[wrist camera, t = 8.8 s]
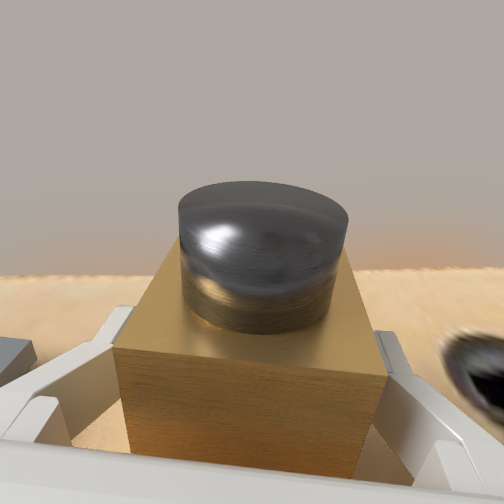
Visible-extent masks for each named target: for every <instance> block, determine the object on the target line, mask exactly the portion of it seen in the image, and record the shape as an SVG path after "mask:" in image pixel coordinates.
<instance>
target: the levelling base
mask: <svg viewBox="0 0 504 504" xmlns="http://www.w3.org/2000/svg"><path fill="white" fill-rule="evenodd" d="M36 360H37V356H36V353H35V350H34V347H33V344H32V341H31V340H25V339H16V338H7V337H0V388H1V387H3V386H4V385H6V384H8V383H10V382H12V381H14V380H16V379H17V378H19V377H21V376H23V375H25V373H26V372H27V371H28V370H29V369H30V367H31V366H32V365H33V364H34V363H35V361H36Z"/></svg>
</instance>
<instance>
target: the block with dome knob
mask: <svg viewBox="0 0 504 504" xmlns="http://www.w3.org/2000/svg"><path fill="white" fill-rule="evenodd" d="M178 215H179V237H178V238H177V240H176V242H175V243H174V245H173V247H172V248H171V250H170V252H169V253H168V255H167V256H166V258H165V260H164V261H163V263H162V265H161V266H160V268H159V270H158V271H157V273H156V275H155V276H154V278H153V280H152V281H151V283H150V285H149V286H148V288H147V290H146V291H145V293H144V294H143V296H142V298H141V299H140V301H139V303H138V304H137V306H136V308H135V309H134V311H133V313H132V314H131V316H130V318H129V319H128V321H127V323H126V324H125V326H124V327H123V329H122V331H121V332H120V334H119V336H118V337H117V339H116V341H115V342H114V344H113V346H112V351H113V357H114V362H115V368H116V374H117V379H118V385H119V390H120V396H121V401H122V407H123V412H124V418H125V423H126V429H127V434H128V440H129V445H130V451H131V454H137V455H146V456H154V457H163V458H172V459H180V460H189V461H197V462H206V463H215V464H223V465H232V466H240V467H249V468H258V469H266V470H275V471H283V472H292V473H301V474H310V475H319V476H327V477H336V478H345V479H351V476H352V473H353V471H354V468H355V465H356V463H357V460H358V457H359V454H360V452H361V449H362V446H363V444H364V441H365V438H366V436H367V433H368V430H369V427H370V425H371V422H372V419H373V417H374V414H375V411H376V408H377V406H378V403H379V400H380V398H381V395H382V392H383V389H384V387H385V384H386V381H387V379H388V373H387V370H386V367H385V364H384V362H383V359H382V356H381V353H380V350H379V347H378V344H377V341H376V339H375V336H374V333H373V330H372V327H371V324H370V321H369V318H368V316H367V313H366V310H365V307H364V304H363V301H362V298H361V295H360V292H359V290H358V287H357V284H356V281H355V278H354V275H353V272H352V269H351V267H350V264H349V261H348V258H347V255H346V252H345V249H344V247H343V244H344V239H345V234H346V230H347V225H348V215H347V213H346V211H345V210H344V209H343V208H342V207H341V206H340V205H339V204H338V203H336V202H335V201H333V200H332V199H330V198H328V197H326V196H324V195H321V194H319V193H316V192H313V191H311V190H307V189H303V188H300V187H295V186H291V185H286V184H279V183H271V182H259V181H237V182H225V183H218V184H212V185H208V186H204V187H201V188H198V189H196V190H193V191H191V192H190V193H188V194H187V195H185V196H184V197H183V198H182V199H181V201H180V202H179V206H178Z"/></svg>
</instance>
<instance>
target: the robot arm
mask: <svg viewBox="0 0 504 504" xmlns="http://www.w3.org/2000/svg"><path fill="white" fill-rule="evenodd" d="M135 308H136V307H135V306H127V305H118V306H117V307H115V309H114V310H113V312H112V313H111V315H110V316H109V317H108V319H107V320H106V322H105V323H104V325H103V326H102V327H101V329H100V330H99V332H98V333H97V335H96V336H95V338H94V339H93V340H92V342H88V341H86V342H84V343H83V344H81V345H79V346H77V347H75V348H73V349H71V350H70V351H68V352H66V353H64V354H62V355H60V356H58V357H56V358H55V359H53V360H51V361H49V362H47V363H45V364H43V365H42V366H40V367H38V368H36V369H34V370H32V371H30V372H29V373H27V374H25V375H23V376H21V377H19V378H17V379H16V380H14V381H12V382H10V383H8V384H6V385H4V386H3V387H1V388H0V504H504V446H503V445H502V444H501V443H500V442H499V441H497V440H496V439H495V438H494V437H493V436H491V435H490V434H489V433H488V432H486V431H485V430H484V429H483V428H482V427H480V426H479V425H478V424H477V423H476V422H474V421H473V420H472V419H471V418H470V417H468V416H467V415H466V414H465V413H463V412H462V411H461V410H460V409H459V408H457V407H456V406H455V405H454V404H453V403H451V402H450V401H449V400H448V399H446V398H445V397H444V396H443V395H442V394H440V393H439V392H438V391H437V390H436V389H434V388H433V387H432V386H431V385H429V384H428V383H427V382H426V381H425V380H423V379H422V378H421V377H420V376H416V375H413V373H412V370H411V368H410V366H409V363H408V361H407V359H406V357H405V354H404V352H403V350H402V348H401V345H400V343H399V341H398V338H397V336H396V334H395V333H394V332H391V331H378V330H375V331H373V333H374V336H375V339H376V341H377V344H378V347H379V350H380V353H381V356H382V359H383V362H384V364H385V367H386V370H387V373H388V379H387V381H386V384H385V387H384V389H383V392H382V395H381V398H380V400H379V403H378V406H377V408H376V411H375V414H374V417H373V419H372V422H371V423H372V424H373V425H374V427H375V428H376V429H377V430H378V432H379V433H380V434H381V436H382V437H383V438H384V440H385V441H386V442H387V443H388V445H389V446H390V447H391V449H392V450H393V451H394V453H395V454H396V455H397V456H398V458H399V459H400V460H401V462H402V463H403V464H404V466H405V467H406V468H407V469H408V471H409V472H410V473H411V475H412V476H413V477H414V479H415V481H414V482H413V484H412V486H406V485H398V484H389V483H380V482H371V481H362V480H354V479H345V478H336V477H327V476H319V475H310V474H301V473H292V472H283V471H275V470H266V469H258V468H249V467H240V466H232V465H223V464H215V463H206V462H197V461H189V460H180V459H172V458H163V457H154V456H146V455H137V454H128V453H120V452H111V451H103V450H94V449H85V448H77V447H73V446H72V443H71V440H72V439H74V438H75V437H76V436H77V435H78V434H79V433H81V432H82V431H83V430H84V429H85V428H86V427H87V426H89V425H90V424H91V423H92V422H93V421H94V420H95V419H97V418H98V417H99V416H100V415H101V414H102V413H104V412H105V411H106V410H107V409H108V408H109V407H110V406H112V405H113V404H114V403H115V402H116V401H117V400H119V399H120V398H121V396H120V390H119V385H118V379H117V374H116V368H115V362H114V357H113V351H112V346H113V344H114V342H115V341H116V339H117V337H118V336H119V334H120V332H121V331H122V329H123V327H124V326H125V324H126V323H127V321H128V319H129V318H130V316H131V314H132V313H133V311H134V309H135Z"/></svg>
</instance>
